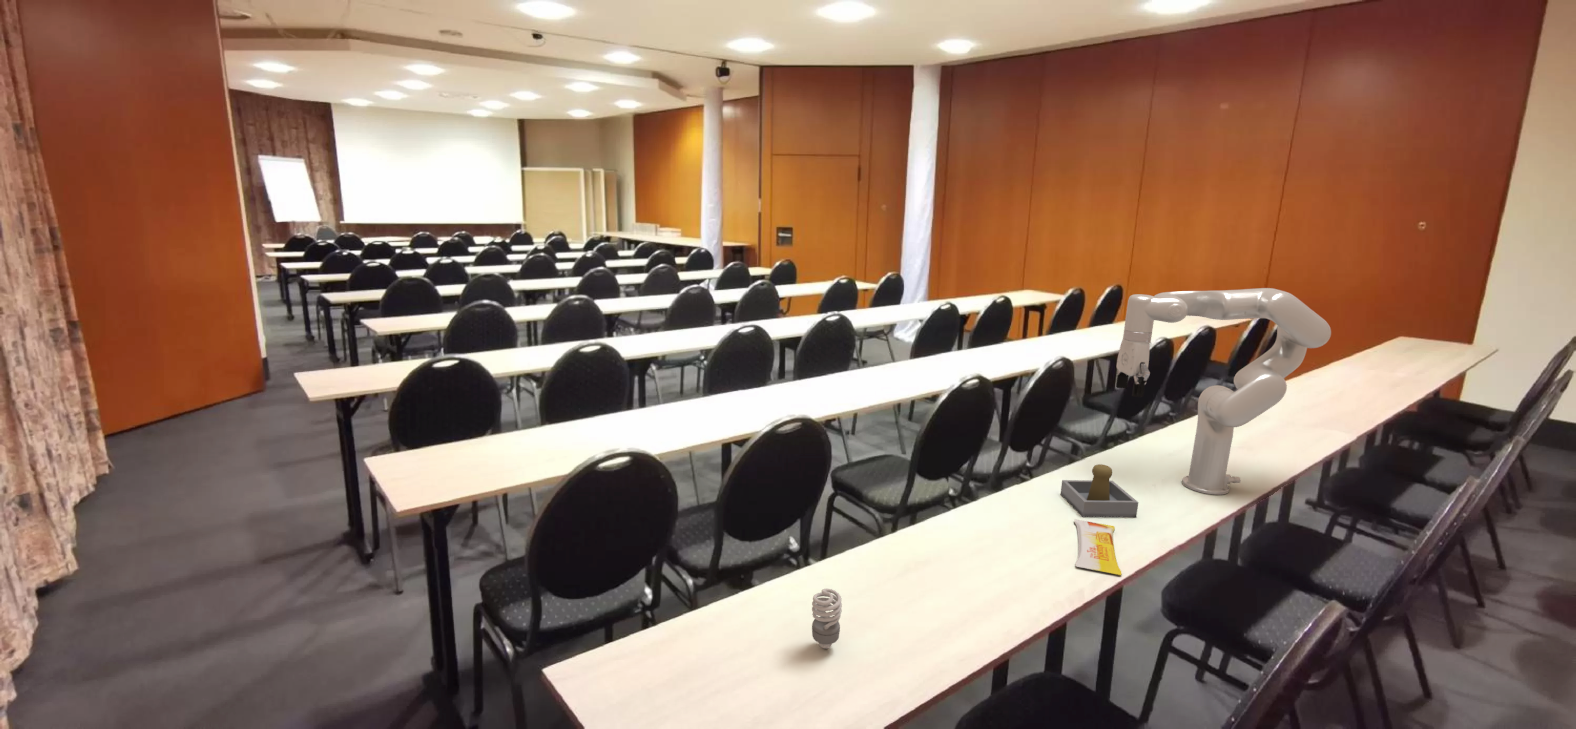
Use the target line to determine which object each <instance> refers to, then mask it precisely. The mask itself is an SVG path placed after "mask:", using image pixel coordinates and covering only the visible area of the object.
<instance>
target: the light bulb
mask: <svg viewBox="0 0 1576 729" xmlns="http://www.w3.org/2000/svg"><path fill="white" fill-rule="evenodd" d="M811 603H812V604H811V605H812V607H811V611H812V617H813V618H814V620H813V621H812V624H811V636H812V638H813V640H814V641H815V642H817V643H818V646H819V647H820V648H822V649H829V648H831V647H832V645H833V644H834V643H836V642H837V641H839V638H840V631H841V630H840V629H841V624H840V622H839V621H840V619H841V614H842V607H843V606H842V605H843V604H842V596H841V594H839V592H838V591H836V589H835V590H834V589H833V588H823V589H822V590H821V592H817V593H816V594H813V597H812V602H811Z"/></svg>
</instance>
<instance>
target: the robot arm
mask: <svg viewBox="0 0 1576 729" xmlns="http://www.w3.org/2000/svg"><path fill="white" fill-rule="evenodd" d="M1125 314H1126V315H1125V319H1124V320H1125V321H1124V329H1123V334H1122V340H1121V343H1120V346H1119V350H1118V355H1117V358H1116V367H1115V368H1116V370H1117V371H1116V374H1117V378H1116V385H1115V387H1116V388H1117V389H1127V388H1128V383H1129V382H1128V381H1129V377H1133V379H1134V382H1133V386H1132V392H1131V393H1132V394H1131V397H1133V398H1143V397H1144V396H1145V389H1146V388H1145V387H1146V384H1147V381H1148V380H1149V377H1150V374H1151V372H1150V370H1149V363H1150V362H1149V361H1150V346H1151V345H1150V344H1151V342H1152V337H1153V336H1152V334H1153V329H1154V322H1155V321H1158V322H1163V323H1168V324H1169V323H1171V324H1174V323H1178V322H1181V321H1183V320H1184V319H1186V317H1188V316H1189V317H1191V316H1192V317H1201V318H1207V319H1212V320H1217V321H1218V320H1219V321H1230V320H1231V321H1232V320H1243V319H1245V320H1247V319H1248V320H1249V319H1250V320H1252V319H1267V320H1269V321H1271V322H1273V323H1274V324H1275V325H1276V326H1277V330H1276V333H1277V334H1276V338H1275V342H1274V343H1273V344H1272V346H1271V347H1270V348H1268V350H1267V351H1266V352H1264V353H1263V354H1261V355H1260V356H1259V357H1257V358H1256V359H1254V360H1253V361H1251V362H1249V363H1248V364H1247V365H1245V366H1244V367H1243V368H1241V369H1239V370H1238V371H1237V372H1236V374H1234V375H1235V376H1234V377H1233V384H1234V386H1235V388H1236V390H1235V391H1234V390H1232V389H1231V388H1229V387H1226V386H1223V385H1220V384H1219V385H1217V384H1216V385H1211V386H1208V387H1207V388H1204V390H1203V391H1202V392H1201V393H1200V395H1199V397H1198V401H1197V402H1198V403H1197V424H1196V430H1195V436H1194V443H1193V447H1192V448H1193V449H1192V453H1191V461H1190V465H1189V471H1188V475H1185V476H1183V477H1182V478H1181V483H1182V485H1183V486H1185V487H1186V488H1188V489H1189V490H1193V491H1194V492H1198V493H1200V494H1201V493H1203V494H1206V495H1215V496H1217V495H1219V496H1220V495H1221V496H1222V495H1225V494H1228V493H1229V492H1230V486H1229V485H1230V484H1232V483H1233V484H1240V483H1241V481H1242V479H1241V477H1240V476H1232V475H1231V474H1227V469H1228V464H1229V460H1230V459H1229V458H1230V454H1231V448H1232V442H1233V438H1234V429H1235V428H1239V427H1241V426H1244V425H1246V424H1248V423H1250V422H1251V421H1253V420H1254V419H1256V418H1257V417H1259V416H1261V415H1262V414H1263V413H1265V412H1267V411H1268V410H1270V409H1272V407H1274V406H1276V405H1277V404H1278V403H1279V402H1281V400H1282V399H1283V398H1284V396H1285V395H1286V392H1287V388H1288V387H1287V386H1288V385H1287V382H1286V380H1285V378H1287V377H1288V376H1289V375H1290V374H1292V373H1293V372H1294V371H1295V370H1296V369H1298V368H1299V367H1300V366H1301V364H1302V363H1303V361H1304V359H1305V356H1306V354H1307V350H1308V349H1317V348H1320V347H1322V346H1324V345H1326V344H1327V343H1328V342H1329V340H1330V338H1331V336H1332V329H1331V327H1330V325H1329V323H1328V322H1327V321H1326V320H1325V319H1324V318H1323V317H1322V316H1320V315H1319V314H1318V313H1316V312H1315V311H1314V310H1313V309H1311V308H1310V307H1309V306H1308V305H1307V304H1305V303H1304V302H1303V301H1302V300H1300V299H1299V297H1296V296H1295V295H1293V294H1292V293H1290V292H1287V291H1285V290H1281V289H1276V288H1273V287H1271V288H1270V287H1261V288H1244V289H1227V290H1226V289H1225V290H1223V289H1222V290H1182V291H1165V292H1160V293H1157V294H1155V295H1154V296H1153V295H1150V294H1141V293H1140V294H1137V293H1136V294H1135V293H1134V294H1132V295H1130V296H1129V297H1128V300H1127V307H1126V313H1125Z"/></svg>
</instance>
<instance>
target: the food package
mask: <svg viewBox="0 0 1576 729" xmlns="http://www.w3.org/2000/svg"><path fill="white" fill-rule="evenodd" d="M1073 523H1075V525H1076V529H1077V537H1078V553H1077V554H1078V555H1077V559H1076V561H1075V567H1077V568H1082V569H1086V570H1092V571H1097V572H1102V573H1107V574H1112V575H1118V576H1122V574H1123V572H1122V570H1121V569H1120V567H1119V564H1118V562H1117V557H1116V551H1115V550H1116V549H1115V545H1114V531H1115V529H1116V527H1115V526H1114V525H1112V524H1111V525H1110V524H1105V523H1098V522H1093V521H1087V520H1083V519H1076V518H1075V519H1074V522H1073Z"/></svg>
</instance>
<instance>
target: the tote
mask: <svg viewBox="0 0 1576 729" xmlns="http://www.w3.org/2000/svg"><path fill="white" fill-rule="evenodd" d="M1092 480H1093V479H1090V480H1086V479H1085V480H1082V479H1081V480H1080V479H1079V480H1078V479H1077V480H1076V479H1070V480H1069V479H1062V480H1061V486H1060V496H1061V497H1062V498H1064V500H1065V501H1066V502H1067V503H1068V504H1069V505H1070V506H1071V507H1072V508H1073V509H1074V510H1075V511H1076V512H1077V513H1078V514H1079V515H1080V516H1081V517H1082V518H1132V519H1133V518H1137V515H1138V509H1139V501H1138V500H1137V499H1135V498H1134V497H1133V496H1131V495H1130V494H1129V493H1128V492H1127V491H1126V490H1124V489H1123V488H1122V487H1121V486H1119V485H1118V484H1117V483H1116V482H1115V481H1114V480H1109V491H1110V501H1096V500H1087V497H1088V494H1089V490H1090V487H1091V483H1092Z"/></svg>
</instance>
